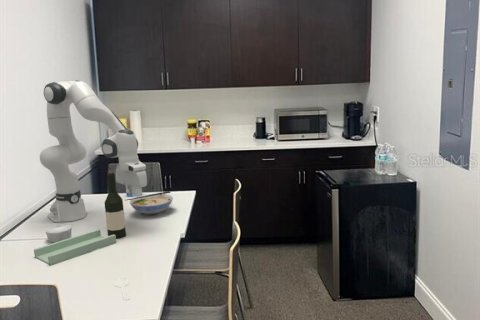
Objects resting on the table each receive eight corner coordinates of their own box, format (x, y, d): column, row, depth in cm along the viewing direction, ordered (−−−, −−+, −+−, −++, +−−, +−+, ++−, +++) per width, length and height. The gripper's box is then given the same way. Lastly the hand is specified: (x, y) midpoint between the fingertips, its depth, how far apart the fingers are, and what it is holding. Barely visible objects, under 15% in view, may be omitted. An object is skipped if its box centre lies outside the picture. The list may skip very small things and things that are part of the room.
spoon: (119, 302, 154) (119, 301, 154) (112, 281, 170) (112, 279, 170) (135, 299, 156) (135, 297, 156) (127, 278, 172) (127, 276, 172)
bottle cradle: (34, 257, 196) (33, 249, 195) (99, 236, 218) (98, 229, 217) (50, 265, 187) (49, 257, 186) (116, 242, 208) (115, 235, 208)
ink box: (126, 197, 285) (124, 177, 283) (129, 194, 290) (127, 175, 288) (139, 196, 284) (137, 177, 281) (142, 194, 289) (140, 175, 286)
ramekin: (66, 233, 224) (65, 223, 223) (77, 238, 216) (75, 227, 215) (42, 240, 217) (41, 229, 216) (53, 245, 209) (51, 234, 208)
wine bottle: (121, 239, 212) (115, 174, 206) (104, 239, 213) (97, 174, 208) (129, 233, 220) (123, 170, 214) (113, 232, 221) (106, 170, 216)
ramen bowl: (135, 222, 235) (133, 207, 233) (123, 211, 255) (122, 197, 253) (182, 213, 246) (181, 198, 244) (168, 203, 266) (166, 189, 264)
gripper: (110, 164, 222) (114, 192, 225) (136, 168, 209) (139, 198, 211) (122, 162, 227) (125, 190, 230) (148, 165, 213) (151, 195, 216)
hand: (132, 194), depth 220 cm, fingers closed
